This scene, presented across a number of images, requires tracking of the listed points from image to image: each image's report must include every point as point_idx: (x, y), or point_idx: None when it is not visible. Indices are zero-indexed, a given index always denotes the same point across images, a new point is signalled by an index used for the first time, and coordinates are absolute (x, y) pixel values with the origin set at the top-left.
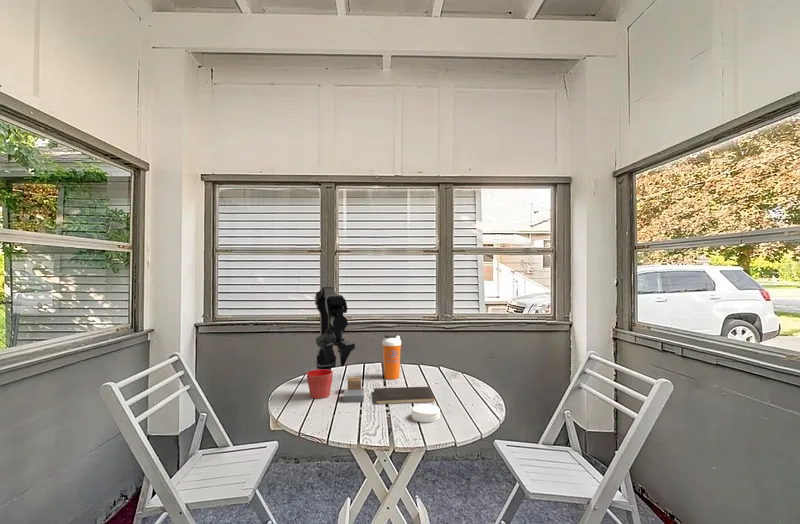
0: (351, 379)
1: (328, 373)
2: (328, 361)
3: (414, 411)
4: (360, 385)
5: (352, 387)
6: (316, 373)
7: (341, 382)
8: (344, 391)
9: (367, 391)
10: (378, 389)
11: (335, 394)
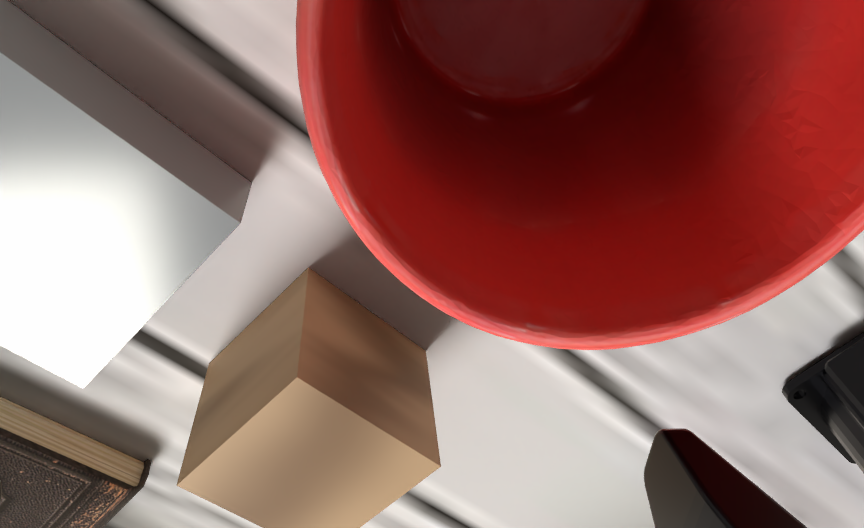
0: (313, 439)
1: (594, 281)
2: (660, 464)
3: None
4: (195, 429)
5: (261, 352)
6: (833, 138)
7: None
8: (170, 182)
9: None
10: (57, 497)
11: None
